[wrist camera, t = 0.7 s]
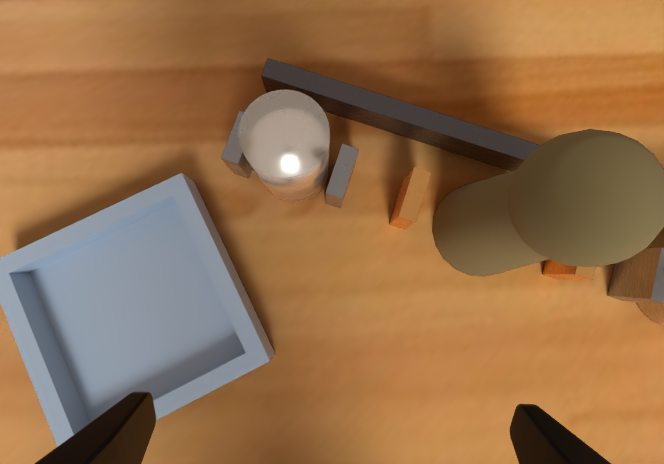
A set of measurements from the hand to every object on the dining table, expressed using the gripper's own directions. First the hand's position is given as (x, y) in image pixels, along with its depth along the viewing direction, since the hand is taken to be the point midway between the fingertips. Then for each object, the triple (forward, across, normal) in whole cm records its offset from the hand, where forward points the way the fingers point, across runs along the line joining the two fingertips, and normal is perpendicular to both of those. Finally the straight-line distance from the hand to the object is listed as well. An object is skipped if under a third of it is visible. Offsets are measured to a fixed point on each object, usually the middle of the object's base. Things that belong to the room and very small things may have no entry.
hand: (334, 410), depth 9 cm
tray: (+12, +11, +6) cm, 17 cm away
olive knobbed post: (+15, -9, +1) cm, 18 cm away
